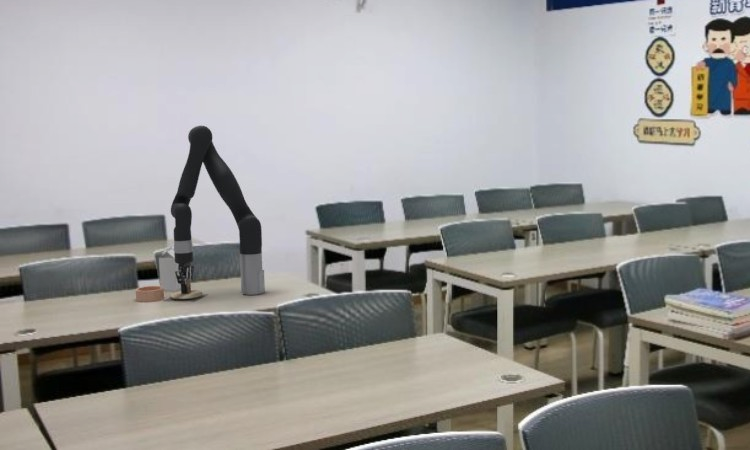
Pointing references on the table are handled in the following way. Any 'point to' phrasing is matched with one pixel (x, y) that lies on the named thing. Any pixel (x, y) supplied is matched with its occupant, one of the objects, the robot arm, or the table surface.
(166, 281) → the milk carton
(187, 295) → the lid
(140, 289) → the bowl
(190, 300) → the mat
